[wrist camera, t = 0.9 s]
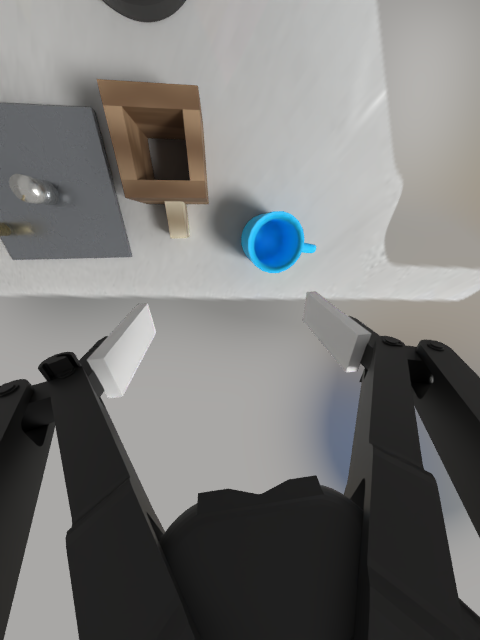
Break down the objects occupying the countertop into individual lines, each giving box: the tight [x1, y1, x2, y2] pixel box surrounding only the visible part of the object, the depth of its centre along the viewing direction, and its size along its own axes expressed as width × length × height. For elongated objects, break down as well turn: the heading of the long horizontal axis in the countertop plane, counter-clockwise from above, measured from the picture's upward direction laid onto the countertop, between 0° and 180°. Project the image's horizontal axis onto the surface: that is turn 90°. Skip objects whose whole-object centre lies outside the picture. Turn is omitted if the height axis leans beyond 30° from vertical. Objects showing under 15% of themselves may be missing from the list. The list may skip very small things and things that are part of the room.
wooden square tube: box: [97, 79, 209, 238], centre depth 25 cm, size 14×10×8 cm
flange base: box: [0, 103, 132, 260], centre depth 25 cm, size 18×18×4 cm
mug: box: [241, 211, 316, 273], centre depth 30 cm, size 12×8×8 cm
